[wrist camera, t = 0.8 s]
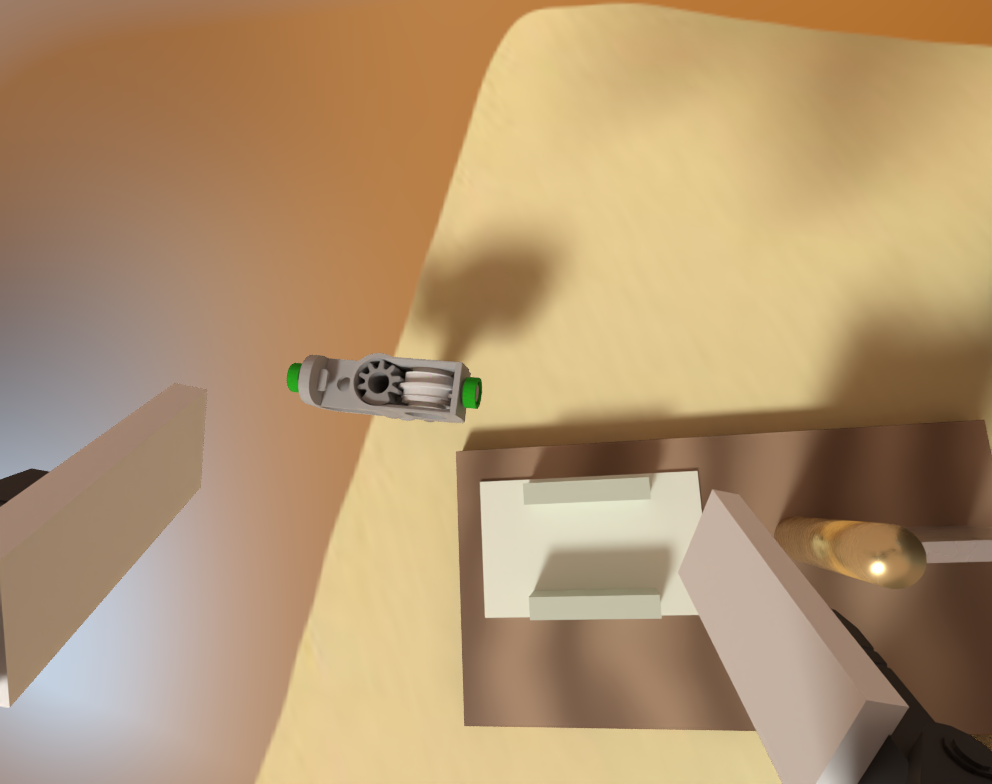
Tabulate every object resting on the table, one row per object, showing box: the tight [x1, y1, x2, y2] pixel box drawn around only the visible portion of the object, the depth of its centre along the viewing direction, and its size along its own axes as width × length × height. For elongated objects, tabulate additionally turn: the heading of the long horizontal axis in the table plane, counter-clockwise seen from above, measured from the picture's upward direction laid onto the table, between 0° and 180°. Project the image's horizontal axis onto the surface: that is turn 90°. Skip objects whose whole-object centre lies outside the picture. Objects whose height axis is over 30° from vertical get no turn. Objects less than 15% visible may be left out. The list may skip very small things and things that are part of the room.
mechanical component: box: [287, 353, 482, 423], centre depth 35 cm, size 3×10×10 cm, turn 84°
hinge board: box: [456, 420, 992, 735], centre depth 29 cm, size 30×16×12 cm, turn 93°
